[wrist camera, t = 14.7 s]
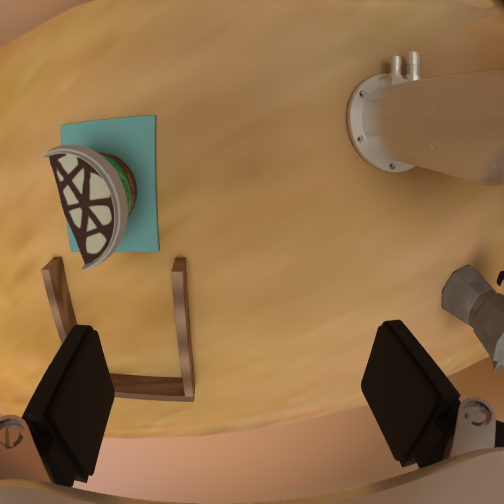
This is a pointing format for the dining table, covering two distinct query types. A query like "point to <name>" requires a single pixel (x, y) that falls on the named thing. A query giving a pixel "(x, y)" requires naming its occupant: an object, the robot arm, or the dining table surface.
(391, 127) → the robot arm
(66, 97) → the dining table surface
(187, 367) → the frame
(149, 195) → the mat
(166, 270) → the dining table surface
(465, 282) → the coffeepot
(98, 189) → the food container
